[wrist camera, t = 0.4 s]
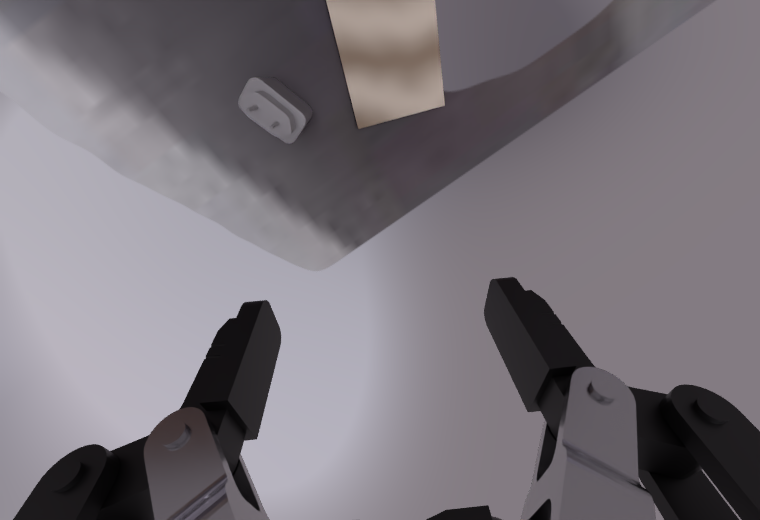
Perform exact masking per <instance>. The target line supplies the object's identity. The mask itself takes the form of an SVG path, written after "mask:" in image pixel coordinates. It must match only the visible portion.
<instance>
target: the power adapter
mask: <svg viewBox="0 0 760 520" xmlns="http://www.w3.org/2000/svg"><path fill="white" fill-rule="evenodd" d="M238 103H239V107H240V109H241V110H242V111H243V112H244V113H245V114H246V115H247V116H248V117H249V118H250V119H251V120H253V121H254V122H255V123H257V124H258V125H260V126H261V127H262V128H264V129H265V130H266V131H268V132H269V133H270V134H272V135H273V136H276V137H278V138H279V139H281V140H282V141H284V142H285V143H293V142H294V141H295V140H296V139H297V137H298V136H299V135H300V133H301V132H302V131H303V129H304V128H305V126H306V125H307V123H308V122H309V120H310V119H311V117H312V114H313V111H312V109H311V107H310V106H309V105H308V104H307V103H305V102H304V101H303V100H302V99H301V98H299V97H298V96H297V95H296V94H295V93H293V92H292V91H291V90H290V89H288V88H287V87H286V86H285V85H284V84H282V83H281V82H280V81H279V80H278V79H276V78H274V77H254V78H251V79H249V80H248V82H247V84H246V86H245V88H244V90H243V92H242V93H241V95H240V97H239V100H238Z"/></svg>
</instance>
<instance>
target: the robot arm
mask: <svg viewBox="0 0 760 520" xmlns="http://www.w3.org/2000/svg"><path fill="white" fill-rule="evenodd" d="M484 316H485V321H486V324H487V327H488V329H489V331H490V333H491V335H492V337H493V339H494V341H495V344H496V346H497V348H498V350H499V352H500V354H501V356H502V358H503V360H504V363H505V364H506V367H507V369H508V371H509V373H510V375H511V377H512V380H513V382H514V384H515V386H516V388H517V390H518V392H519V394H520V396H521V398H522V401H523V403H524V405H525V407H526V409H527V411H528V412H534V411H541V412H542V414H543V416H544V418H545V422H544V425H543V429H542V434H541V439H540V444H539V449H538V454H537V459H536V464H535V470H534V475H533V479H532V483H531V487H530V490H529V493H528V495H527V498H526V501H525V504H524V508H523V512H522V516H521V520H656V517H655V507H654V503H655V505H656V506H657V508H658V510H659V511H660V513H661V515H662V516H663V518H664V520H739V519H738V518H737V516H736V515H735V514H734V512H733V511H732V510H731V509H730V507H729V506H728V504H727V503H726V502H725V501H724V500H723V498H722V497H721V495H720V494H719V493H718V491H717V490H716V489H715V487H714V486H713V485H712V484H711V482H710V481H709V480H708V478H707V477H706V476H705V474H704V473H703V472H702V469H703V470H704V471H705V473H706V474H707V475H708V476H709V478H710V479H711V480H712V482H713V483H714V484H715V485H716V487H717V488H718V489H719V491H720V492H721V493H722V495H723V496H724V497H725V499H726V500H727V501H728V502H729V504H730V505H731V506H732V507H733V509H734V510H735V512H736V513H737V514H738V515H739V517H740V518H741V519H742V520H760V431H759V430H758V429H757V428H756V427H755V426H754V425H753V424H752V423H751V422H750V421H749V420H748V419H747V418H746V417H745V416H744V415H743V414H742V413H741V412H740V411H739V410H738V409H737V408H736V407H735V406H733V405H732V404H731V403H730V402H728V401H727V400H725V399H724V398H722V397H721V396H719V395H717V394H715V393H713V392H711V391H709V390H707V389H704V388H701V387H698V386H694V385H679V386H677V387H675V388H674V389H673V390H672V391H671V392H670V393H669V394H663V393H658V392H653V391H647V390H642V389H637V388H632V387H628V386H626V385H625V383H624V382H622V381H621V380H620V379H618V378H617V377H616V376H614V375H613V374H611V373H609V372H607V371H605V370H602V369H599V368H596V367H595V366H594V365H593V364H592V363H591V361H590V360H589V359H588V357H587V356H586V355H585V353H584V352H583V351H582V349H581V348H580V347H579V345H578V344H577V343H576V341H575V340H574V339H573V337H572V336H571V334H570V333H569V332H568V330H567V329H566V328H565V326H564V325H562V324H561V321H560V320H559V319H558V317H557V316H556V315H554V312H553V311H552V309H551V308H550V306H549V305H548V304H547V302H546V301H545V300H544V299H543V298H541V297H540V296H538V295H537V294H536V293H534V292H533V291H532V290H528V291H525V290H524V289H523V288H522V286H521V285H520V283H519V282H518V281H517V279H516V278H514V277H510V278H500V279H492V280H491V282H490V285H489V289H488V294H487V299H486V303H485V309H484ZM280 344H281V332H280V328H279V325H278V323H277V320H276V318H275V315H274V313H273V311H272V308H271V306H270V304H269V302H268V301H267V300H264V301H253V302H245V303H243V305H242V306H241V309H240V311H239V313H238V315H237V318H232V319H229V320H228V321H227V322H226V323H225V324H224V325H223V326H222V327H221V328H220V329H219V330H218V332H217V334H216V336H215V338H214V340H213V343H212V344H211V348H210V349H209V351H208V353H207V355H206V359H204V361H203V363H202V365H201V367H200V369H199V371H198V373H197V375H196V378H195V380H194V382H193V384H192V386H191V388H190V390H189V392H188V394H187V397H186V398H185V400H184V403H183V404H182V406H181V408H180V409H179V410H178V411H175V412H173V413H172V414H170V415H168V416H167V417H166V418H164V419H163V420H162V421H161V422H160V423H159V424H158V425H157V426H156V427H155V428H154V430H153V431H152V432H151V434H150V435H148V436H146V437H144V438H141V439H139V440H137V441H134V442H132V443H129V444H127V445H125V446H122V447H120V448H117V449H115V450H112V451H109V450H107V449H105V448H104V447H102V446H100V445H96V444H93V445H87V446H84V447H81V448H78V449H77V450H74V451H72V452H71V453H69V454H68V455H66V456H65V457H63V458H62V459H60V460H59V461H58V462H57V463H56V464H54V465H53V466H52V467H51V468H50V469H49V470H48V471H47V472H46V474H45V475H44V476H43V477H42V478H41V480H40V481H39V482H38V484H37V485H36V487H35V488H34V490H33V491H32V493H31V494H30V496H29V497H28V499H27V500H26V501H25V503H24V505H23V506H22V507H21V509H20V510H19V512H18V513H17V515H16V516H15V518H14V519H13V520H269V518H268V516H267V514H266V512H265V510H264V508H263V506H262V503H261V501H260V499H259V496H258V494H257V491H256V489H255V487H254V484H253V482H252V480H251V478H250V475H249V473H248V470H247V468H246V466H245V463H244V461H243V459H242V456H241V455H240V453H241V449H242V446H243V442H244V440H253V439H257V437H258V433H259V429H260V425H261V421H262V417H263V413H264V409H265V404H266V401H267V397H268V393H269V389H270V385H271V381H272V377H273V373H274V369H275V364H276V360H277V357H278V352H279V349H280ZM639 478H640V480H641V482H642V483H643V485H644V486H645V488H646V489H644V488H643V487H641V485H640V482H639ZM653 501H654V502H653ZM427 520H501V519H499V518H496V517H492V516H491V513H490V510H489V506H479V507H469V508H460V509H451V510H445V511H443V512H441V513H439V514H437V515H435V516H433V517H431V518H429V519H427Z"/></svg>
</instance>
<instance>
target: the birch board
mask: <svg viewBox="0 0 760 520" xmlns="http://www.w3.org/2000/svg"><path fill="white" fill-rule="evenodd" d="M326 2H327V6H328V10H329V14H330V18H331V22H332V26H333V30H334V34H335V38H336V42H337V46H338V50H339V54H340V58H341V62H342V66H343V70H344V74H345V78H346V82H347V86H348V90H349V94H350V98H351V102H352V106H353V110H354V114H355V118H356V122H357V126H358V129H360V128H364V127H368V126H371V125H375V124H379V123H382V122H386V121H390V120H393V119H397V118H401V117H405V116H408V115H412V114H416V113H419V112H423V111H427V110H430V109H434V108H438V107H442V106H445V103H444V92H443V82H442V71H441V61H440V49H439V38H438V28H437V17H436V6H435V0H326Z"/></svg>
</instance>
